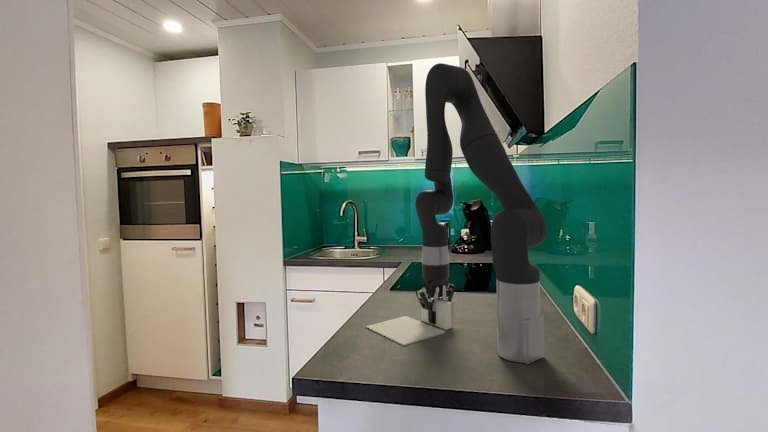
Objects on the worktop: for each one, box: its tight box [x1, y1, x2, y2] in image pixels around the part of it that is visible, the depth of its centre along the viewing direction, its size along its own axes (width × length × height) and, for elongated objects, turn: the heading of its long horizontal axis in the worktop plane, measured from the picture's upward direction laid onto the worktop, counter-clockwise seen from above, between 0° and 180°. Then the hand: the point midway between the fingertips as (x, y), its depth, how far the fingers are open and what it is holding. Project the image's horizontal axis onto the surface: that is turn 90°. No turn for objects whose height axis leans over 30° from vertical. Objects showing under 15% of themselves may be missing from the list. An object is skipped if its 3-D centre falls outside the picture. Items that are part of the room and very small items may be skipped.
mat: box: [365, 315, 446, 347], centre depth 109 cm, size 17×14×1 cm
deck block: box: [420, 298, 454, 331], centre depth 113 cm, size 10×2×7 cm, turn 36°
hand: (436, 321), depth 113 cm, fingers closed on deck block, 2 cm apart
